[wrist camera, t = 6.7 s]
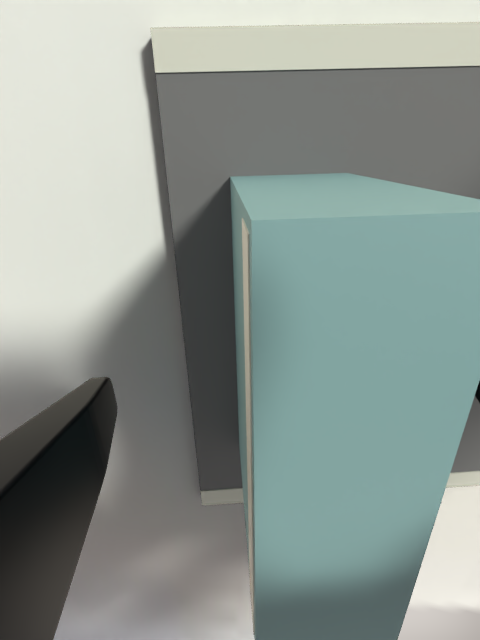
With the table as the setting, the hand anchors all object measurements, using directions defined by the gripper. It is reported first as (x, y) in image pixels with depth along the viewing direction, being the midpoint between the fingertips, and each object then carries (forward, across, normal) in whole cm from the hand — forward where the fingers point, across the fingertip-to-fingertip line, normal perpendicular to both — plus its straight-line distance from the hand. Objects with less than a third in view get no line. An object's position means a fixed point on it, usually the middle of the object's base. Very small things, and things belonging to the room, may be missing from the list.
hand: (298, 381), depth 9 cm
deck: (+3, 0, 0) cm, 3 cm away
